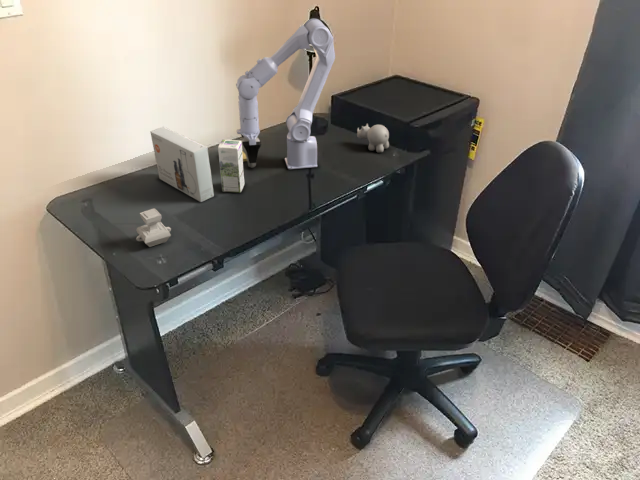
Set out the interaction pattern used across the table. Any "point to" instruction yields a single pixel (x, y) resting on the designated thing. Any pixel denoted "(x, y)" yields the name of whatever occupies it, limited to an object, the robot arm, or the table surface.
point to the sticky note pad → (244, 157)
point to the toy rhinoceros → (375, 137)
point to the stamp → (152, 228)
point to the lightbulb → (246, 152)
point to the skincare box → (183, 163)
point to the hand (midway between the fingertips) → (251, 157)
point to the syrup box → (231, 165)
